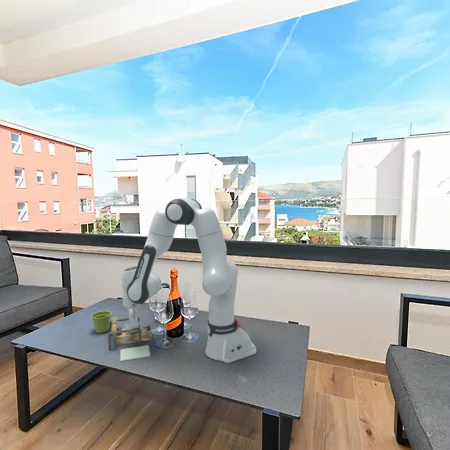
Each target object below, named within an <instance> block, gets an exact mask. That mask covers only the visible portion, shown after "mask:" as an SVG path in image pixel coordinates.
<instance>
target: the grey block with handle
mask: <svg viewBox="0 0 450 450" xmlns="http://www.w3.org/2000/svg"><path fill="white" fill-rule="evenodd" d="M143 326H144V325H143V321H139V322H138V327H136V328H140V329H141V332H143ZM124 329H125V330H128V329H132V328H130V322H128V323H124ZM133 333H139V330H138V331H135V332H132V331H131V332H125V335H126V334H133Z"/></svg>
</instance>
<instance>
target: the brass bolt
mask: <svg viewBox="0 0 450 450" xmlns="http://www.w3.org/2000/svg"><path fill="white" fill-rule="evenodd" d="M117 319H118V315H116V316H112V333H113V332H116V331H117V328H118V326H117V325H118V322H117Z"/></svg>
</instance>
